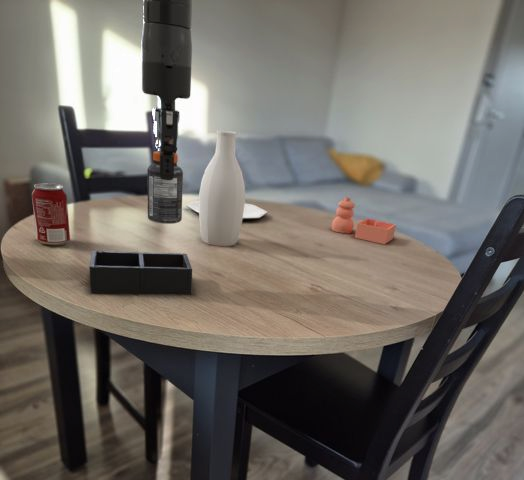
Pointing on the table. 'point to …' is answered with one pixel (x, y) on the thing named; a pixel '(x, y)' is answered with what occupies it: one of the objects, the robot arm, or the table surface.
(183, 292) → the bottle rack
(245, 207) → the plate
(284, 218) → the table surface
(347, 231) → the pottery
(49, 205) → the soda can
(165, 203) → the pill bottle
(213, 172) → the bottle
